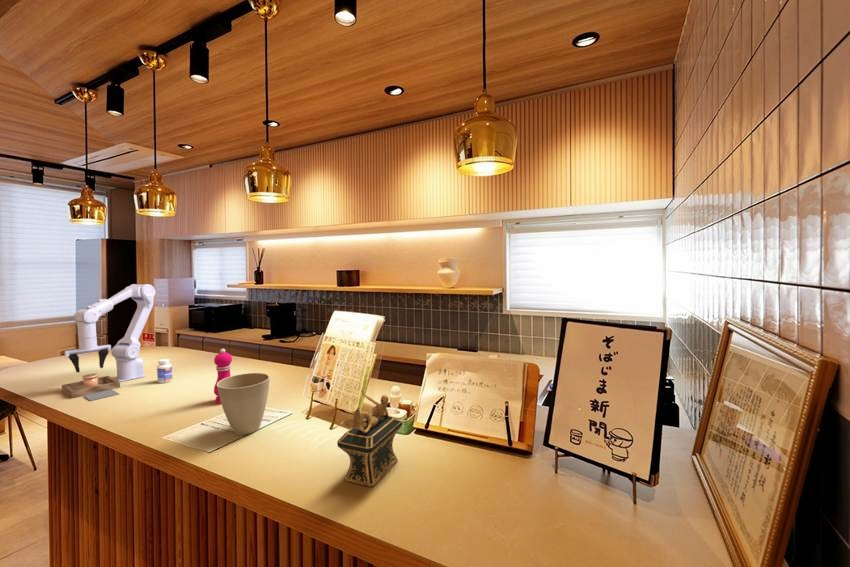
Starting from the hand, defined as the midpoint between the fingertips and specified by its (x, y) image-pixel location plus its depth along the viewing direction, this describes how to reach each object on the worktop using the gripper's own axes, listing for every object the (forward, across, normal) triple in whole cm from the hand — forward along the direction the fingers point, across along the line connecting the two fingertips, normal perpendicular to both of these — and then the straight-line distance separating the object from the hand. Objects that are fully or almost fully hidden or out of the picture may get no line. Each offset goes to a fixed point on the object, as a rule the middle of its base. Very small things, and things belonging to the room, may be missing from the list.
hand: (89, 369), depth 161 cm
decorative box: (+9, -20, +142) cm, 144 cm away
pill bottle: (+8, -22, +15) cm, 28 cm away
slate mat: (+8, 0, +14) cm, 16 cm away
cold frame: (+8, 0, 0) cm, 8 cm away
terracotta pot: (+8, 0, 0) cm, 8 cm away
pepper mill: (+9, -25, +62) cm, 67 cm away
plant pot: (+9, -16, +93) cm, 95 cm away
